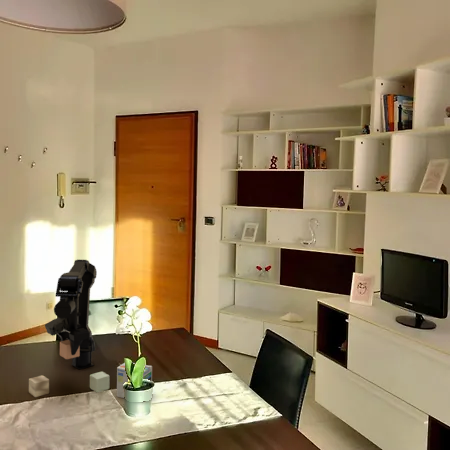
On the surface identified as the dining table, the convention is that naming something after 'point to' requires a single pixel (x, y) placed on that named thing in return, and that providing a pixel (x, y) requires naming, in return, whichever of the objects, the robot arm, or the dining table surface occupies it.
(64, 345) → the terracotta block
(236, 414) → the dining table surface
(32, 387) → the birch block
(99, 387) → the sage block
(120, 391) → the light bulb box
